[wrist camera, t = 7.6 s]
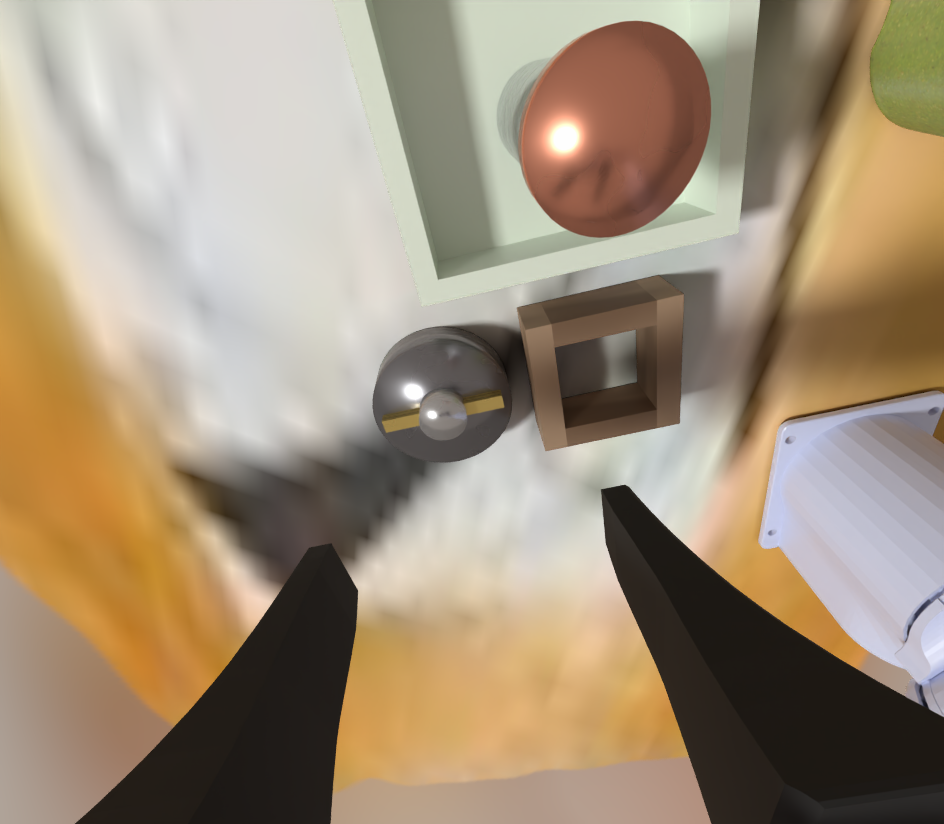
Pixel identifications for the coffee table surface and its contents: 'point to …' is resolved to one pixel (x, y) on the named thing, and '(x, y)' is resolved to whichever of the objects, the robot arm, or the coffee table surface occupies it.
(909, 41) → the plant pot
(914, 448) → the robot arm
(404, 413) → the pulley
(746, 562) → the coffee table surface
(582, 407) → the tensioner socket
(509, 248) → the tray
